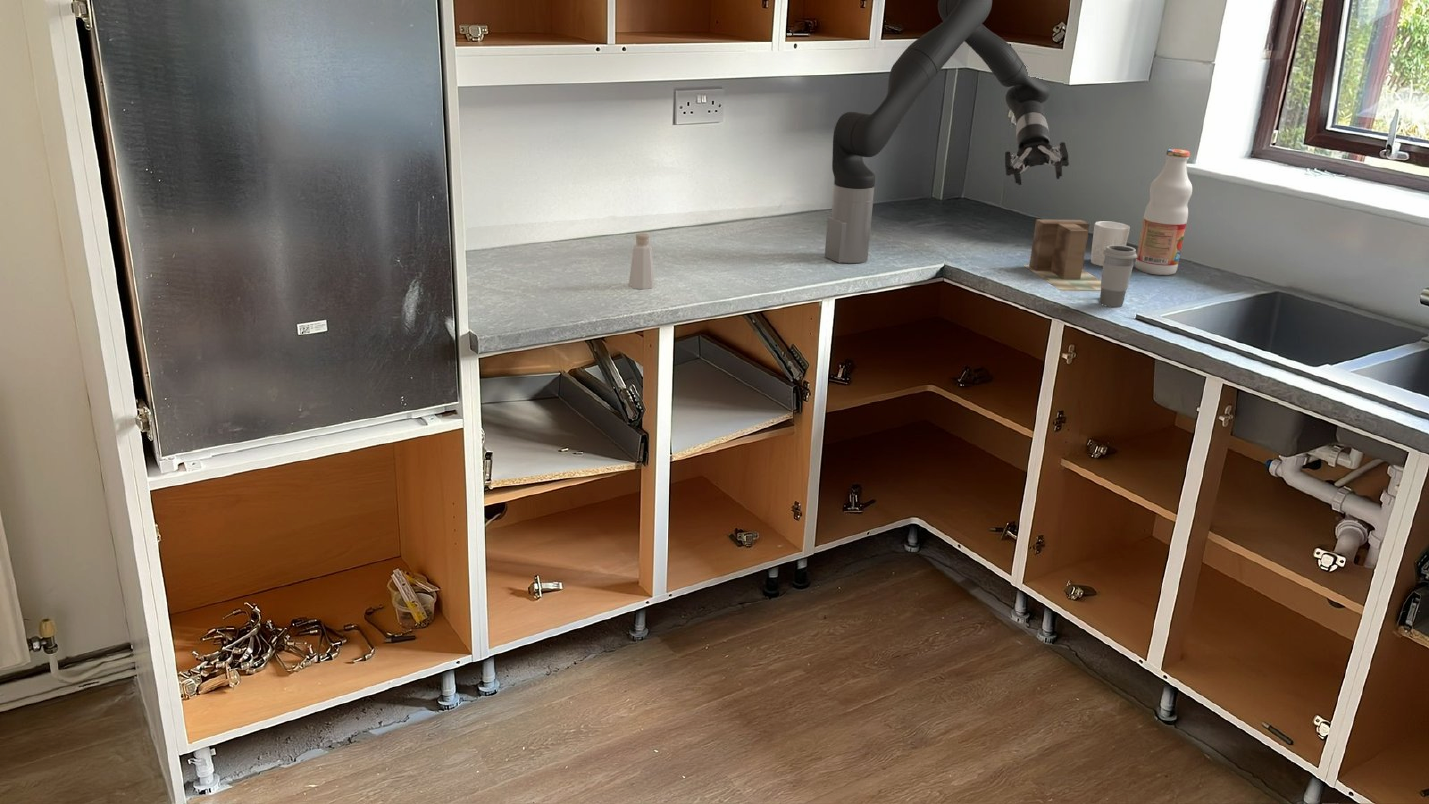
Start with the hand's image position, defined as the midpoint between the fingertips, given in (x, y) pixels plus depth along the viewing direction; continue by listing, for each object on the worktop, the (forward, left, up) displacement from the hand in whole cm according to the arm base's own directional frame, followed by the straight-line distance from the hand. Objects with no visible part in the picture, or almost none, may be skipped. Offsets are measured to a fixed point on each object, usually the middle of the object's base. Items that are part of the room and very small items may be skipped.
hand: (1038, 179), depth 253 cm
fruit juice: (+25, -16, -20) cm, 36 cm away
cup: (-7, -33, -20) cm, 39 cm away
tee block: (-1, -12, -19) cm, 23 cm away
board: (-2, -16, -20) cm, 26 cm away
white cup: (+16, -9, -20) cm, 27 cm away
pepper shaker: (-95, +12, -20) cm, 97 cm away
